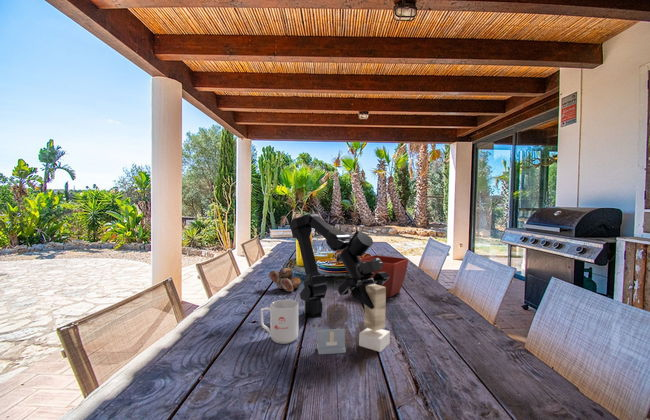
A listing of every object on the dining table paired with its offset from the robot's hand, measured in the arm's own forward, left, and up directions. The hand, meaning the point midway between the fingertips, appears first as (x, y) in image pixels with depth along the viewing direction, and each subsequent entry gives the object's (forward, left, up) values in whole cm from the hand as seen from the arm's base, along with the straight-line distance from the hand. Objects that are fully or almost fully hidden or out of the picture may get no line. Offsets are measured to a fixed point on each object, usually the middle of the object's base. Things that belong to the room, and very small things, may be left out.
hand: (378, 306), depth 92 cm
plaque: (-15, -1, -12) cm, 19 cm away
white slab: (-1, +1, -12) cm, 12 cm away
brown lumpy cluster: (-25, +65, -12) cm, 71 cm away
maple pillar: (-1, +1, -7) cm, 7 cm away
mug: (-30, +9, -12) cm, 33 cm away
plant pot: (+21, +54, -12) cm, 59 cm away
